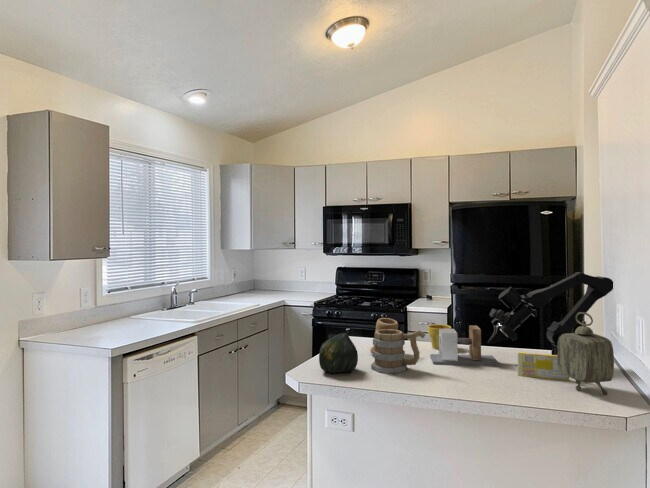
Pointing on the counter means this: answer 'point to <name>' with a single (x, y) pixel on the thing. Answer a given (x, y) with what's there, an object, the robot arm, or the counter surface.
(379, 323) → the stone cup
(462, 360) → the mat
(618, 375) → the counter surface
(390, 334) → the tankard
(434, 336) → the plant pot
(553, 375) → the candy box
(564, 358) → the tabletop clock
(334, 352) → the squash
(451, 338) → the bearing block
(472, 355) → the wood block
